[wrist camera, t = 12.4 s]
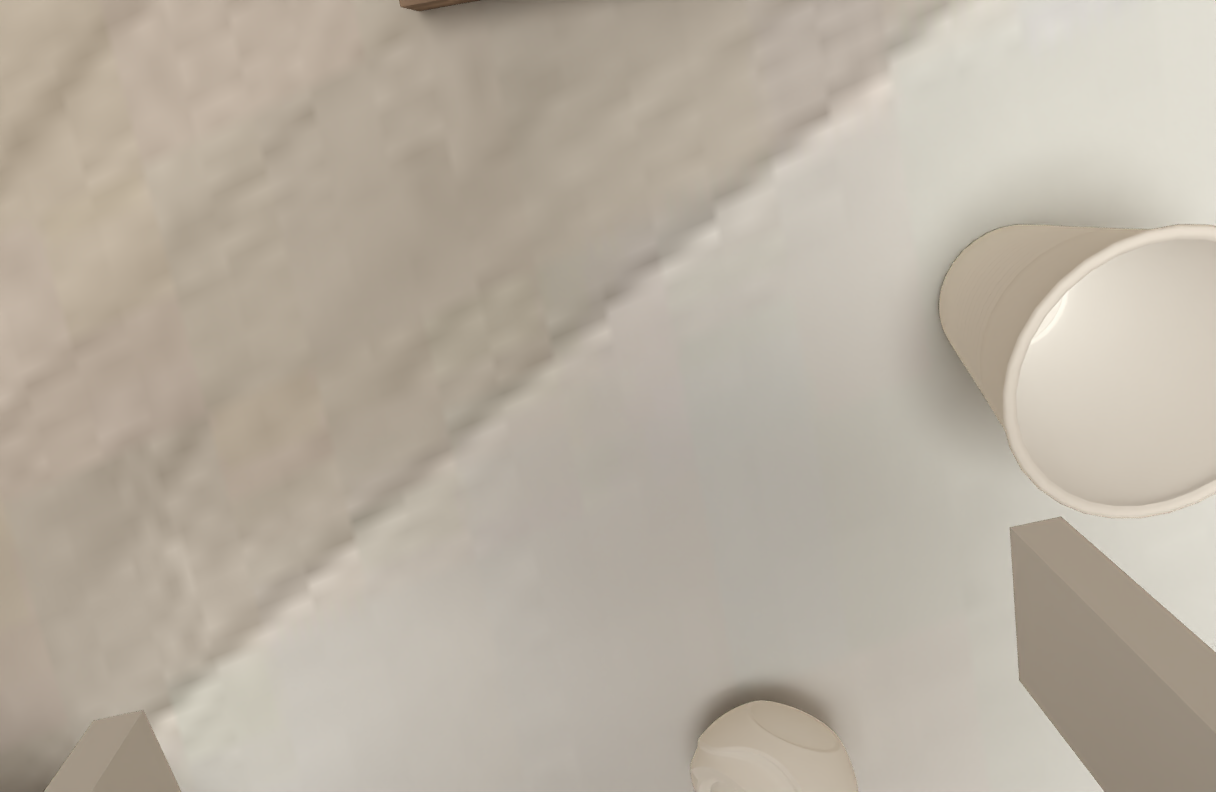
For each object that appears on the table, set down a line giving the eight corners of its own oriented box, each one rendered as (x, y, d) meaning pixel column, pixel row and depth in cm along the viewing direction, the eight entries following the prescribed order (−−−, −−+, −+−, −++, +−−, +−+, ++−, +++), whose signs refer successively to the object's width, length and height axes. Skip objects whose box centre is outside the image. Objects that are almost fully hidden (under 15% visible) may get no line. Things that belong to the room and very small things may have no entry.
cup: (888, 412, 41) (994, 533, 31) (894, 187, 38) (1016, 240, 27) (1108, 391, 41) (1287, 506, 31) (1135, 165, 38) (1346, 210, 27)
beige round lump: (671, 682, 46) (690, 801, 39) (821, 652, 46) (868, 765, 38) (699, 804, 49) (722, 935, 42) (841, 776, 49) (888, 903, 41)
